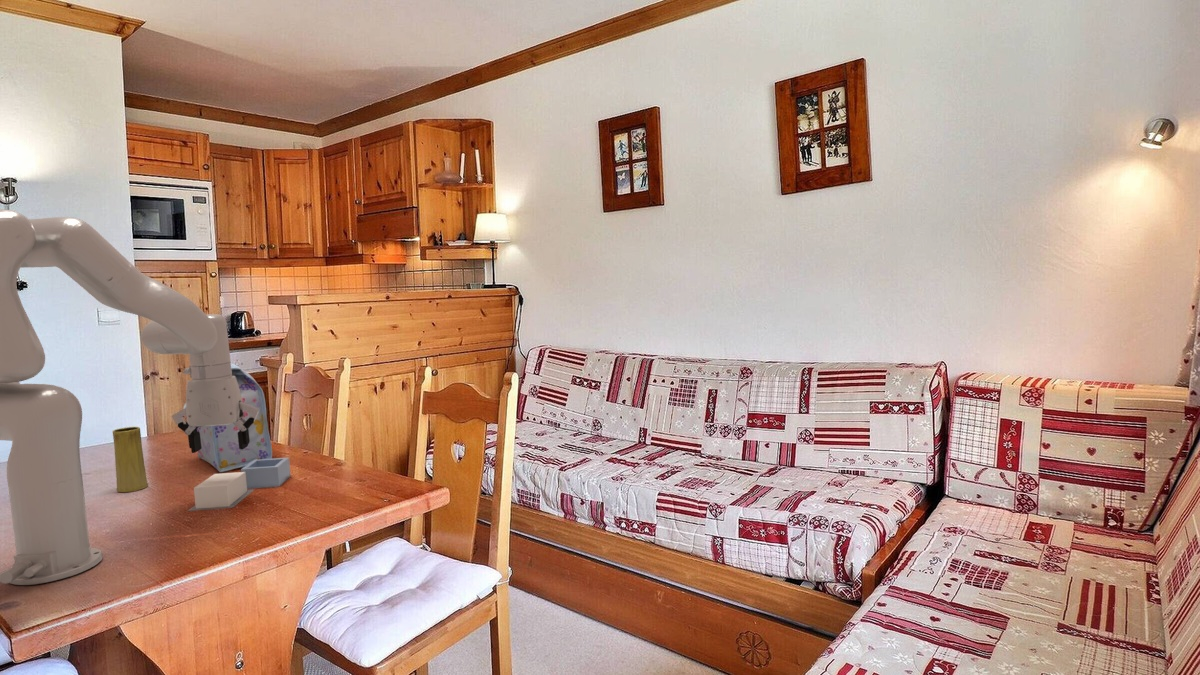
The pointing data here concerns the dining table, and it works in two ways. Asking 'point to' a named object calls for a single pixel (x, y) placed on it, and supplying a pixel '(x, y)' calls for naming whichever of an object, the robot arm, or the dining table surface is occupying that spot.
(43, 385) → the robot arm
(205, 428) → the lunch bag
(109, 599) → the dining table surface
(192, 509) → the mat
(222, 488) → the lid
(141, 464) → the vase
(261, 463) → the open box
